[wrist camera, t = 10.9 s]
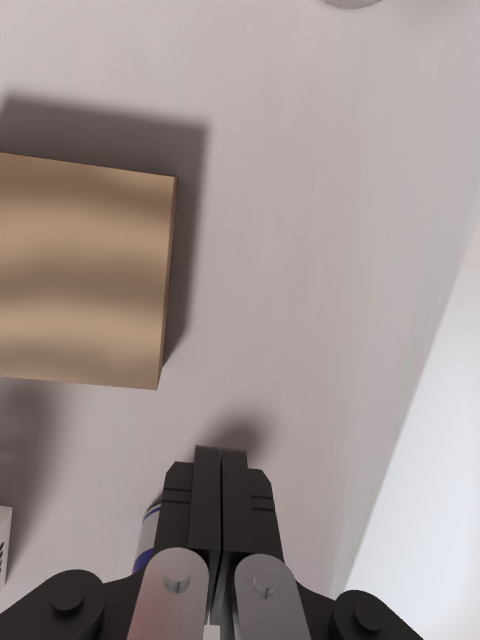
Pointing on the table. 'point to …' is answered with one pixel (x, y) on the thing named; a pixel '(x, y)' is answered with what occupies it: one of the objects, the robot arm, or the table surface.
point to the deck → (84, 271)
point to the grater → (4, 540)
